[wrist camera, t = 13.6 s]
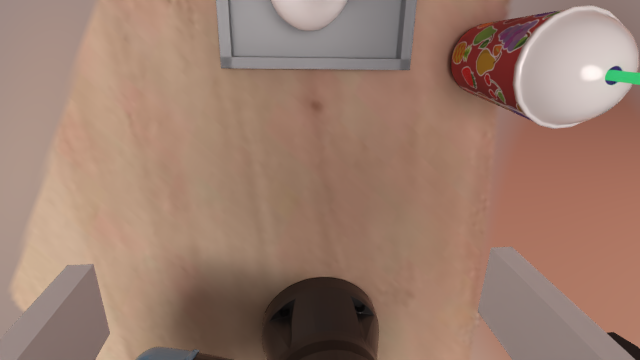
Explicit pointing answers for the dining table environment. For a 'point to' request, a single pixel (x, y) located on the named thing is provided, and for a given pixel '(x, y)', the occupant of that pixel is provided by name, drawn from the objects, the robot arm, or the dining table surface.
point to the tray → (317, 37)
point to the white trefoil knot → (309, 12)
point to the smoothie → (550, 64)
